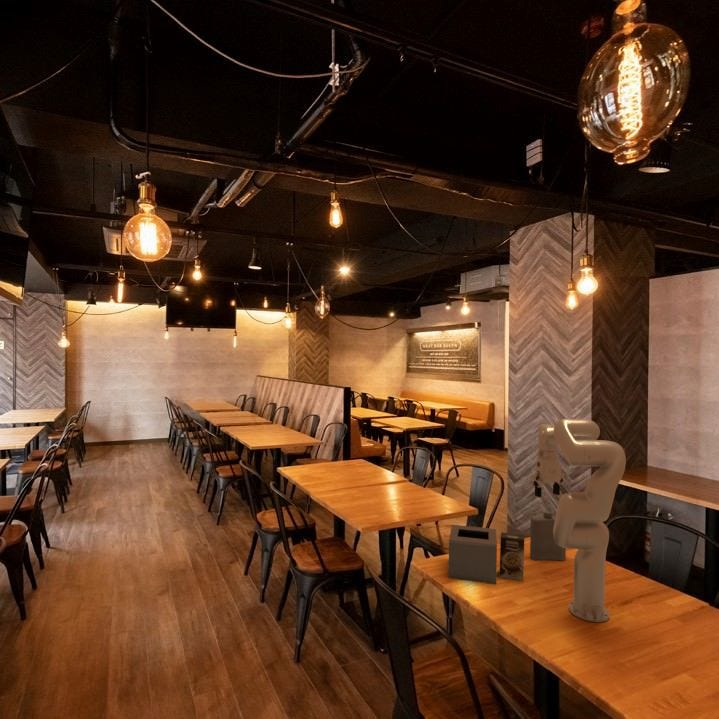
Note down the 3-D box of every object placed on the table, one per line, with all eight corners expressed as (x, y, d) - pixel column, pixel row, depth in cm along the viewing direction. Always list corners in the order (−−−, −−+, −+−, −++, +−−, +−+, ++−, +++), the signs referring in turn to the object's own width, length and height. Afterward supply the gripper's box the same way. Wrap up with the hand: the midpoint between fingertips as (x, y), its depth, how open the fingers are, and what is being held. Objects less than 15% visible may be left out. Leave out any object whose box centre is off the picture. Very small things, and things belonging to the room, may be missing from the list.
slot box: (496, 584, 185) (496, 544, 185) (448, 578, 190) (449, 539, 190) (495, 564, 203) (495, 529, 203) (451, 559, 207) (452, 524, 207)
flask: (561, 555, 214) (562, 510, 214) (567, 561, 208) (568, 514, 208) (527, 555, 214) (528, 509, 214) (532, 560, 208) (533, 514, 208)
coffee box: (499, 577, 191) (500, 536, 191) (499, 571, 197) (500, 531, 197) (523, 581, 188) (524, 539, 188) (523, 574, 194) (524, 534, 194)
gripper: (537, 457, 196) (537, 499, 196) (570, 454, 202) (570, 496, 202) (524, 453, 203) (524, 494, 203) (556, 451, 209) (556, 491, 209)
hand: (547, 495), depth 202 cm, fingers open, 9 cm apart
